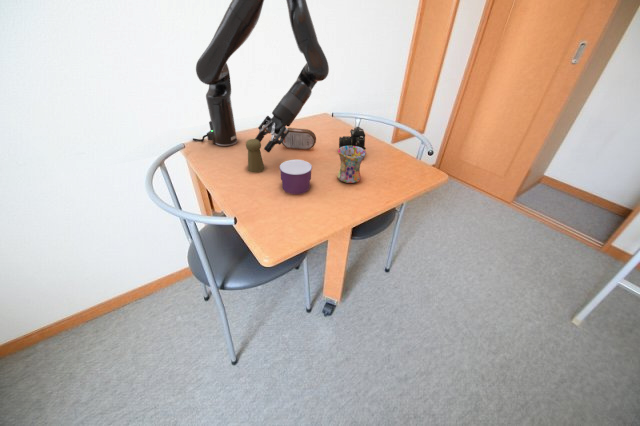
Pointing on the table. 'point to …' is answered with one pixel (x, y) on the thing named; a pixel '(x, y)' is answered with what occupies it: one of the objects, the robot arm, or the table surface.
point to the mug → (350, 163)
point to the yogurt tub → (295, 176)
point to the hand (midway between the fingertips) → (261, 146)
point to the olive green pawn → (254, 156)
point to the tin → (299, 139)
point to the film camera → (353, 139)
